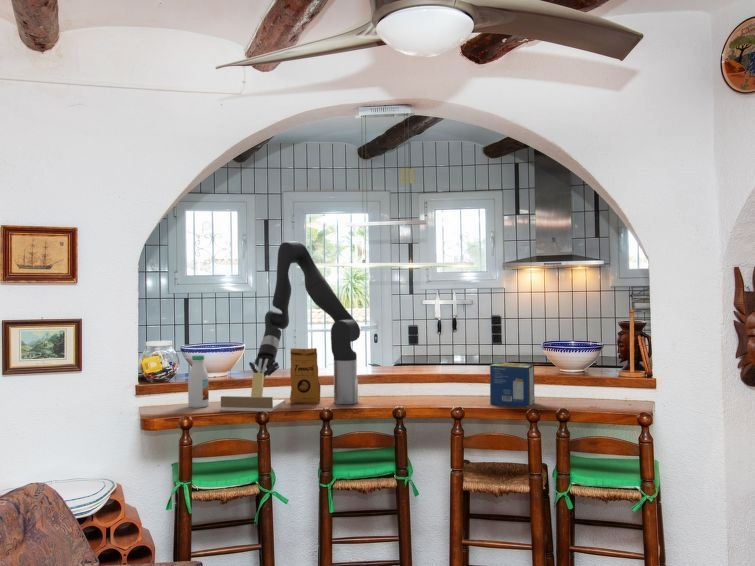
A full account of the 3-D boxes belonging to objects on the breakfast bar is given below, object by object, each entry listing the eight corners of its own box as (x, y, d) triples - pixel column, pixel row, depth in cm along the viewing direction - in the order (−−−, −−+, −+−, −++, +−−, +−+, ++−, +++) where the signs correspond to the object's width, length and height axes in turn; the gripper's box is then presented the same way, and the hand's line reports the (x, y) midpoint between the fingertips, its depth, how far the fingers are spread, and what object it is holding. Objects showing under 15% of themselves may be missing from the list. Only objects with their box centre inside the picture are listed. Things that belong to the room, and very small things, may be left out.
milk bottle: (196, 408, 251) (196, 356, 251) (184, 406, 256) (183, 355, 256) (212, 405, 258) (212, 355, 258) (200, 403, 262) (200, 353, 262)
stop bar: (262, 401, 259) (264, 373, 262) (261, 400, 257) (263, 372, 260) (251, 401, 259) (254, 373, 262) (250, 400, 258) (252, 372, 261)
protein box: (496, 400, 266) (496, 362, 266) (534, 403, 259) (534, 363, 259) (489, 404, 256) (489, 365, 256) (528, 407, 249) (528, 367, 250)
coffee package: (318, 405, 257) (318, 349, 257) (287, 405, 258) (287, 349, 258) (322, 400, 267) (322, 346, 267) (292, 400, 268) (292, 346, 268)
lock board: (285, 402, 263) (285, 389, 263) (271, 411, 245) (271, 397, 245) (237, 401, 266) (237, 388, 266) (220, 410, 248) (220, 396, 248)
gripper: (251, 343, 272) (241, 376, 260) (281, 343, 270) (273, 377, 258) (255, 354, 278) (245, 388, 265) (285, 354, 276) (277, 388, 263)
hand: (259, 382), depth 262 cm, fingers closed
